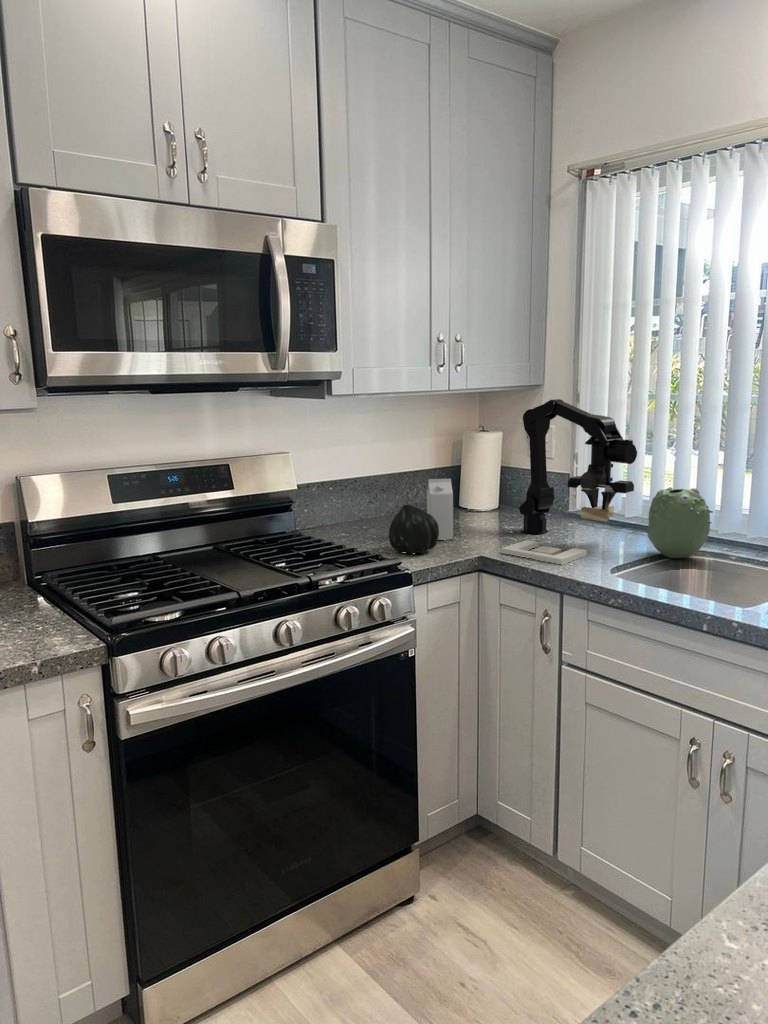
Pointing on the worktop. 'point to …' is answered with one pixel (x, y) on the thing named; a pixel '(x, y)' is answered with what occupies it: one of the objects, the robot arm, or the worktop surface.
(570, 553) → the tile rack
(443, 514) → the milk carton
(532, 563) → the worktop surface
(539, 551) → the pale beige block
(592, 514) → the wooden pusher
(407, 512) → the squash
